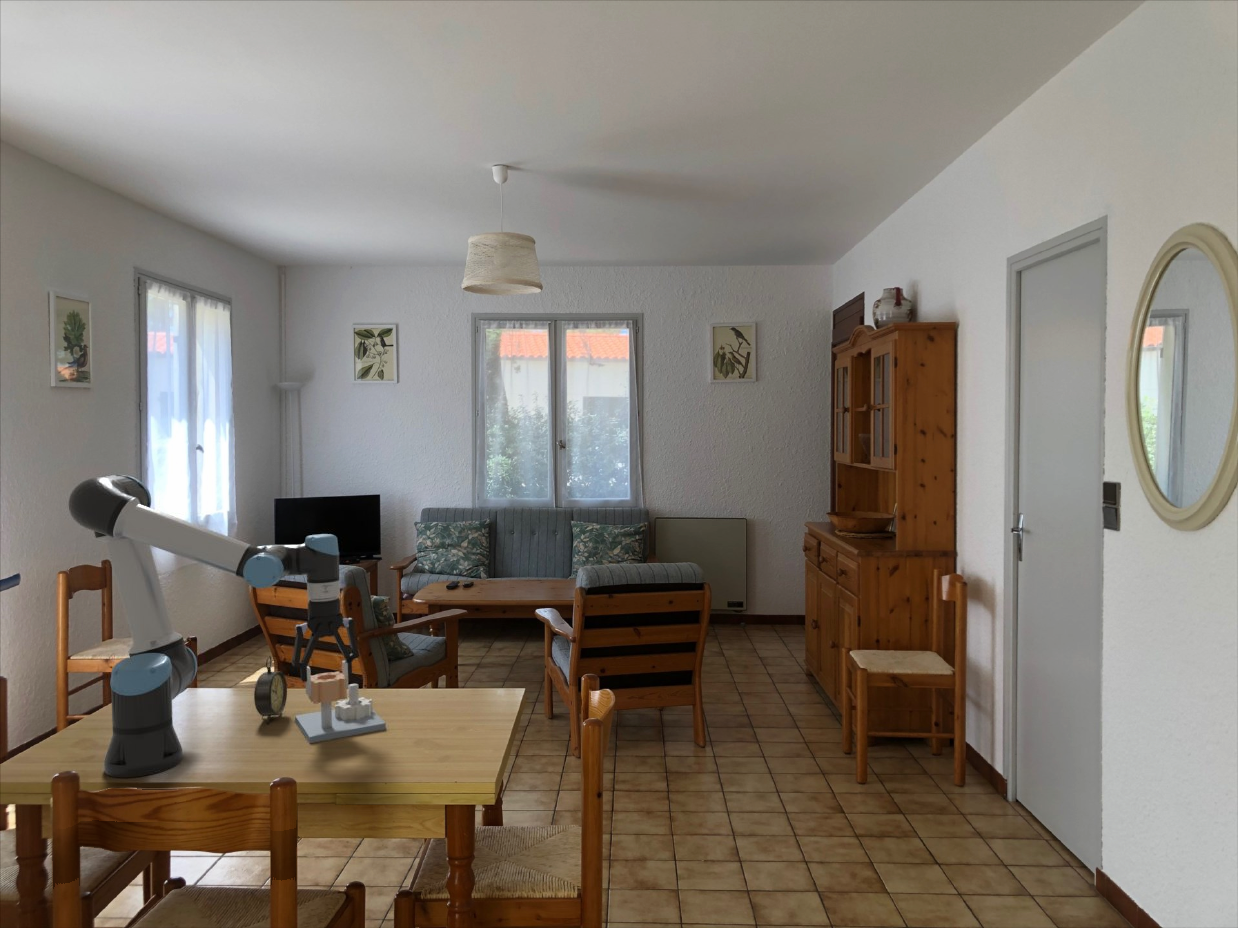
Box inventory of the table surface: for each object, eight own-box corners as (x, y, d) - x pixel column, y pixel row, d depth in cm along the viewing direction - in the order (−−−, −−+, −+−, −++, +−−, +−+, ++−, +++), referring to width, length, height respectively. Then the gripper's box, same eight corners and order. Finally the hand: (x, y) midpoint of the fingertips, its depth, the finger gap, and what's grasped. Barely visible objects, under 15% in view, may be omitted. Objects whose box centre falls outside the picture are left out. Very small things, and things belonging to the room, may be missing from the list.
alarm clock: (272, 725, 215) (270, 661, 214) (250, 725, 215) (249, 661, 214) (288, 711, 226) (287, 650, 225) (268, 711, 226) (266, 650, 225)
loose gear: (313, 704, 203) (313, 683, 203) (306, 695, 210) (306, 675, 210) (348, 698, 207) (347, 678, 207) (340, 690, 214) (339, 670, 214)
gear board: (309, 743, 202) (308, 705, 202) (295, 721, 218) (294, 686, 217) (385, 728, 211) (385, 692, 211) (366, 709, 227) (366, 675, 227)
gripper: (281, 606, 199) (284, 702, 200) (371, 595, 210) (374, 687, 211) (275, 601, 206) (279, 694, 207) (363, 591, 216) (366, 680, 217)
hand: (327, 690), depth 209 cm, fingers closed on loose gear, 8 cm apart
